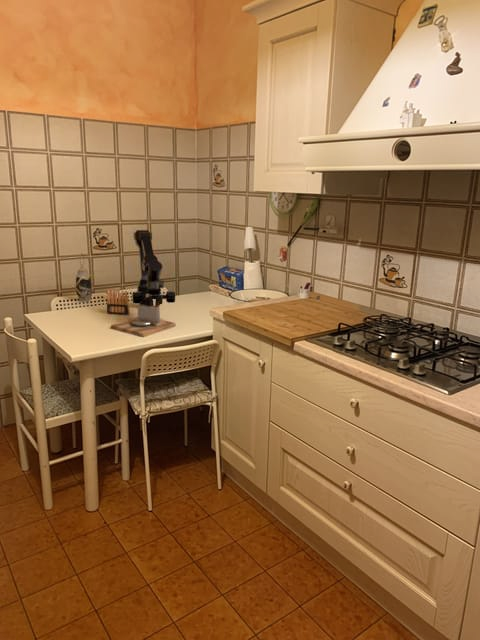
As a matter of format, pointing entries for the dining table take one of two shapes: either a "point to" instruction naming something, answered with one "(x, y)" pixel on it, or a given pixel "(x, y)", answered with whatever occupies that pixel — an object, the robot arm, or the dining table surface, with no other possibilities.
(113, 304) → the ammunition clip
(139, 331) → the dial plate
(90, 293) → the clear tall bottle
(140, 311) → the dial knob
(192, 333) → the dining table surface
